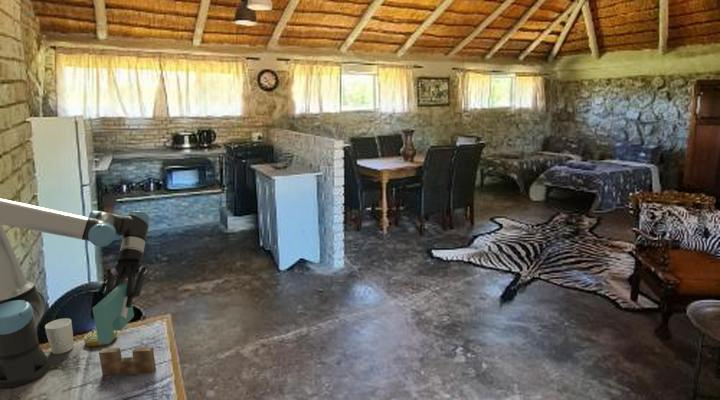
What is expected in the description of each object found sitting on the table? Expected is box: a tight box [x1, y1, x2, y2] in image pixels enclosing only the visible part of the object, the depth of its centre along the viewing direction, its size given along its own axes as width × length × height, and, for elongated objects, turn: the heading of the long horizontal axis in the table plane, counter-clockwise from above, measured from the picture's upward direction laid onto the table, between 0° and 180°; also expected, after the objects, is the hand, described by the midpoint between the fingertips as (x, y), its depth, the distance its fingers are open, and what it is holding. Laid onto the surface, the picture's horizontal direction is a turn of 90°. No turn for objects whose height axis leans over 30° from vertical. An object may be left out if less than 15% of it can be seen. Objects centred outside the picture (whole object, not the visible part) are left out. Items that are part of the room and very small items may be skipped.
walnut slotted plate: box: [98, 346, 157, 376], centre depth 149 cm, size 16×2×8 cm, turn 92°
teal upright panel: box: [92, 283, 135, 345], centre depth 150 cm, size 18×3×12 cm, turn 3°
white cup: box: [44, 317, 74, 355], centre depth 164 cm, size 8×8×10 cm
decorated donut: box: [83, 328, 118, 348], centre depth 170 cm, size 10×11×4 cm
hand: (117, 317), depth 151 cm, fingers closed on teal upright panel, 3 cm apart
